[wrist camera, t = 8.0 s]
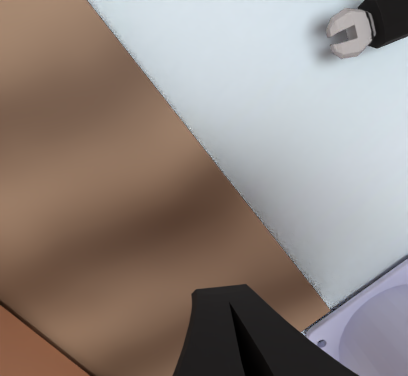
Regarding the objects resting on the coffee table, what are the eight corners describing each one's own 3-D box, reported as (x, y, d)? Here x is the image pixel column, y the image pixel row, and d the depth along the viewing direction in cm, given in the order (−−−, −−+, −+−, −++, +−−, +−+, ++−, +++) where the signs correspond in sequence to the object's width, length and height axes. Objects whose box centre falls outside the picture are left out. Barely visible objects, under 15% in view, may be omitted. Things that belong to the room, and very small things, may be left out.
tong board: (321, 297, 21) (373, 368, 16) (67, 479, 22) (43, 596, 17) (51, -45, 15) (-1, -103, 10) (-272, 238, 16) (-458, 313, 11)
